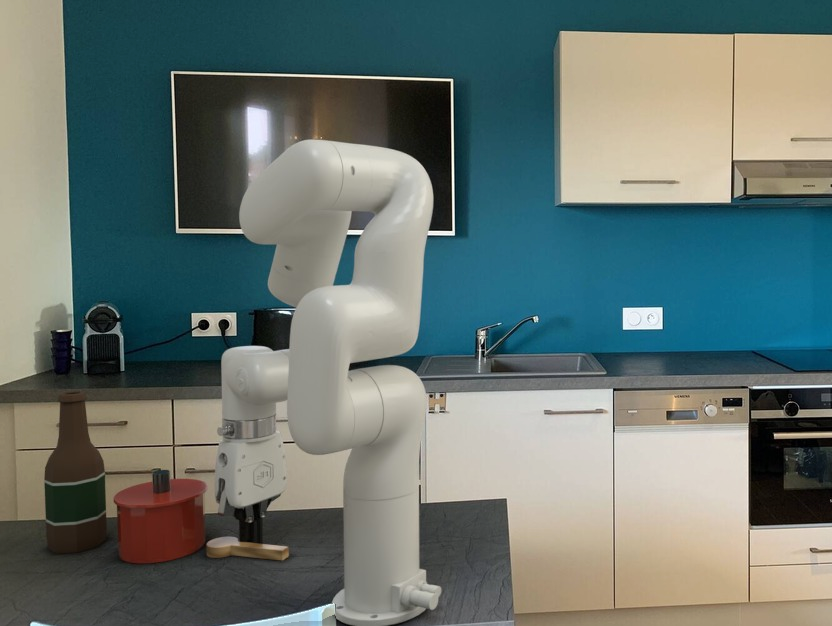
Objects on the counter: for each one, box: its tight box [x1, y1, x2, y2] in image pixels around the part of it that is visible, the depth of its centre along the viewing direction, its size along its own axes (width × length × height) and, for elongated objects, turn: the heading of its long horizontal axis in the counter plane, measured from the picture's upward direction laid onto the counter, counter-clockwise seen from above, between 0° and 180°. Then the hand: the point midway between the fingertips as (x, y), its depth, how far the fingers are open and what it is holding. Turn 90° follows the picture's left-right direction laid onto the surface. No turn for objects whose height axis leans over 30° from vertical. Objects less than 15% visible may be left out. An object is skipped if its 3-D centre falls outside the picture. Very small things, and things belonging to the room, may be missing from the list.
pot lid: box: [113, 469, 209, 508], centre depth 119 cm, size 13×13×4 cm
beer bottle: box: [43, 390, 108, 555], centre depth 120 cm, size 8×8×24 cm
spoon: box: [205, 536, 290, 562], centre depth 118 cm, size 13×4×2 cm, turn 78°
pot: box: [116, 492, 207, 564], centre depth 120 cm, size 12×12×8 cm
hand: (251, 543), depth 120 cm, fingers closed
